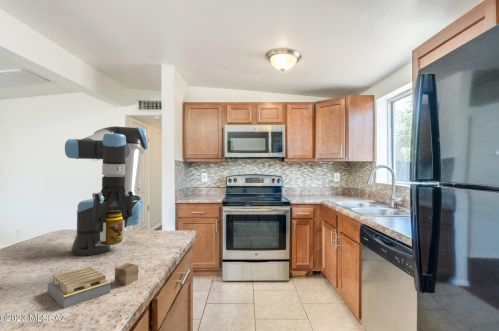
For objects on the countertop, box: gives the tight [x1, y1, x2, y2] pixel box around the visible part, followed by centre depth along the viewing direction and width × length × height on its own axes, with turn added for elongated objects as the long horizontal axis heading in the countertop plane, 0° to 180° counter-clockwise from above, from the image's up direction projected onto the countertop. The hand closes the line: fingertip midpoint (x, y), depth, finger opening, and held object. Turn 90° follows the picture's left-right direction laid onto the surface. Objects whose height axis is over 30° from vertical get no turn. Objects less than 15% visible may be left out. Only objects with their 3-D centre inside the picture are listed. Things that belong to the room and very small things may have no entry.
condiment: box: [95, 209, 126, 247], centre depth 97 cm, size 7×8×12 cm
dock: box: [46, 279, 112, 309], centre depth 79 cm, size 14×12×3 cm
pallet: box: [52, 266, 107, 294], centre depth 79 cm, size 12×10×2 cm
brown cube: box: [114, 262, 139, 286], centre depth 88 cm, size 5×5×5 cm
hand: (112, 238), depth 97 cm, fingers closed on condiment, 6 cm apart
